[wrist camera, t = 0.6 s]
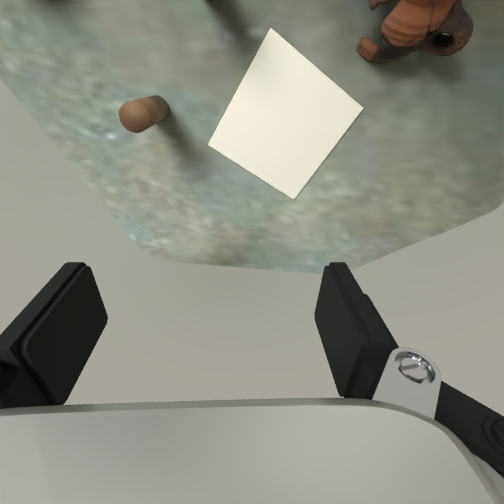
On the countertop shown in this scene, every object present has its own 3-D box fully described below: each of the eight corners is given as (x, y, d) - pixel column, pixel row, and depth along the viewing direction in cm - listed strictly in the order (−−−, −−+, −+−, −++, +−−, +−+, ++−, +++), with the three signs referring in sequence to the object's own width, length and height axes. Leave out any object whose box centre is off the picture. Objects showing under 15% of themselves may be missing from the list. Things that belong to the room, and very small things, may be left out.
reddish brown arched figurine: (328, 44, 31) (361, -28, 23) (370, -30, 31) (417, -129, 23) (418, 100, 32) (481, 50, 23) (458, 28, 31) (536, -48, 23)
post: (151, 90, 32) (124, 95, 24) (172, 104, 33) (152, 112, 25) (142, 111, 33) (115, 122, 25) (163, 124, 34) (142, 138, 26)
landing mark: (270, 28, 29) (270, 27, 29) (362, 108, 34) (363, 108, 34) (207, 144, 35) (207, 144, 35) (293, 199, 40) (293, 199, 40)
